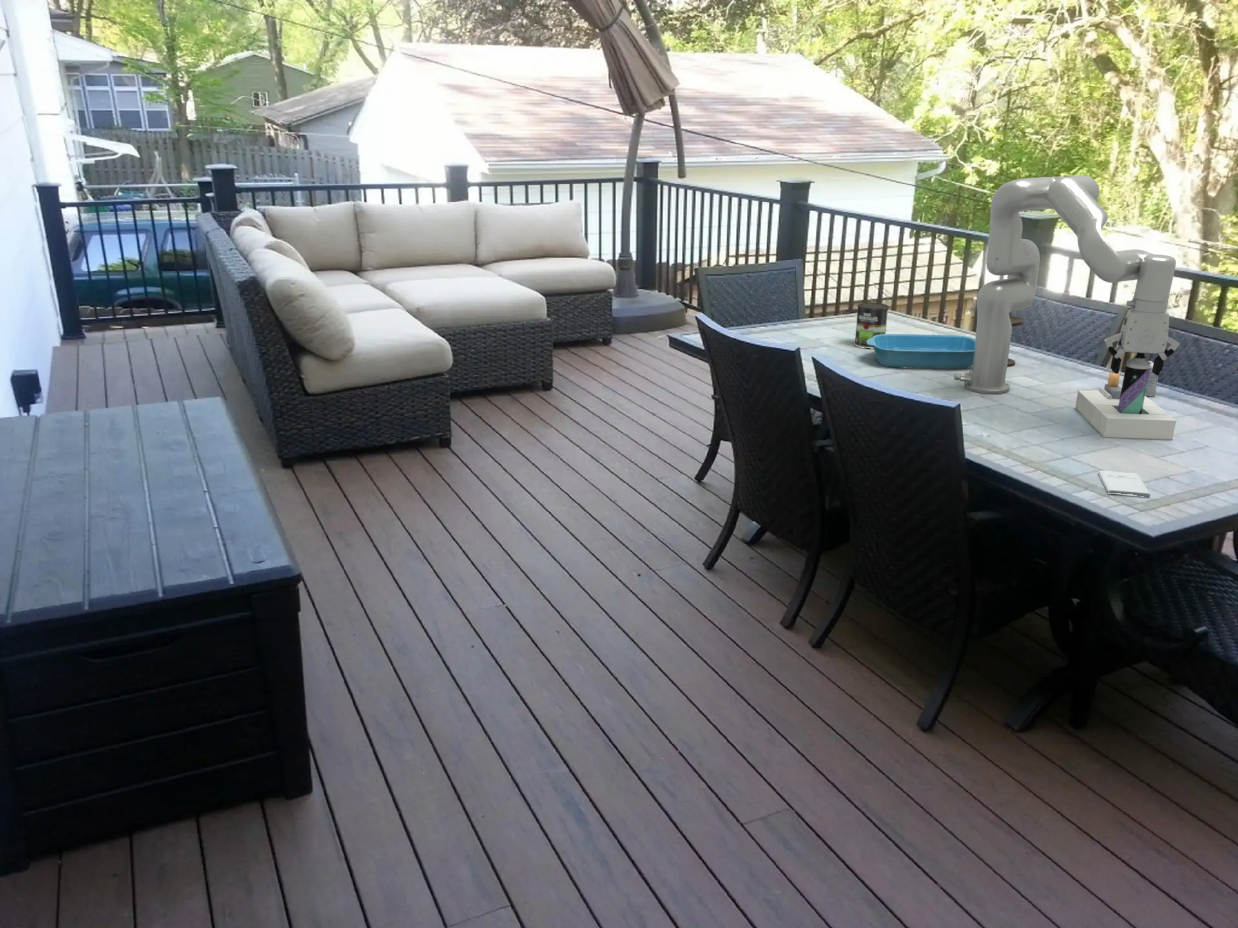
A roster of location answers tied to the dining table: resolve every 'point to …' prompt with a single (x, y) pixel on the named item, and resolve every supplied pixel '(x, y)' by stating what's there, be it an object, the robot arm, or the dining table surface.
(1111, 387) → the bar
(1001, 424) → the dining table surface
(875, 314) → the coffee can
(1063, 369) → the dining table surface
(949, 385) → the dining table surface
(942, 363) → the casserole dish
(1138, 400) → the spray can
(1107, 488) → the external hard drive
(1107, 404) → the block
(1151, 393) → the medicine box
